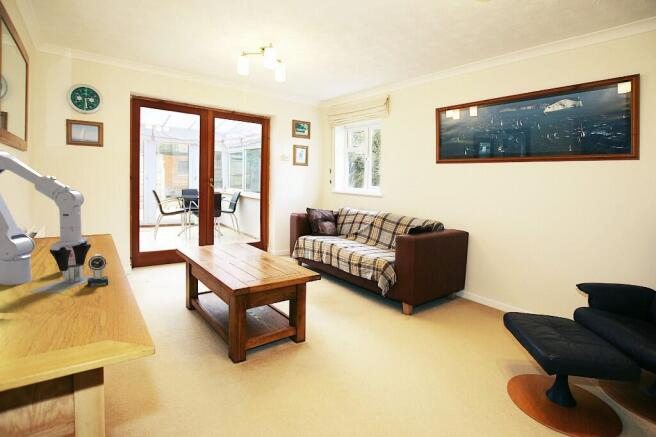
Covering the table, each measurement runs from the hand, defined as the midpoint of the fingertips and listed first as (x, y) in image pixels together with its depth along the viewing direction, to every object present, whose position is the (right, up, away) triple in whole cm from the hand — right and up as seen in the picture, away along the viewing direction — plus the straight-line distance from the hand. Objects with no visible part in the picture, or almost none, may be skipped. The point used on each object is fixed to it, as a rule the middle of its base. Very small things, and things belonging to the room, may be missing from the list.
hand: (72, 268), depth 119 cm
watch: (+10, -6, -3) cm, 12 cm away
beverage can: (-11, -4, +17) cm, 20 cm away
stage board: (0, -6, -3) cm, 6 cm away
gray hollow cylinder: (0, -4, 0) cm, 4 cm away
